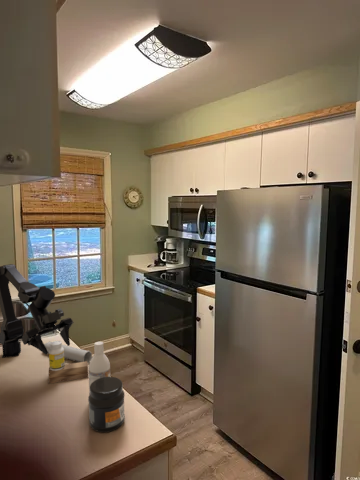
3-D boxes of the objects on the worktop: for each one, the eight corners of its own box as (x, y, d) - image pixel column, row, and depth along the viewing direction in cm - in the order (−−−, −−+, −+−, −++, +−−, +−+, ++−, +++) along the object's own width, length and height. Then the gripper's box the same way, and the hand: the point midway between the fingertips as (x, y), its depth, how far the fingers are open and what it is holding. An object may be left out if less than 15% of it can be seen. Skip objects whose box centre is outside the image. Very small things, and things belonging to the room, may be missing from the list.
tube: (38, 345, 145) (81, 357, 134) (48, 337, 149) (90, 348, 138) (42, 355, 147) (85, 367, 136) (51, 347, 151) (93, 358, 140)
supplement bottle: (48, 366, 126) (47, 341, 125) (62, 363, 128) (61, 338, 127) (51, 372, 121) (50, 347, 120) (66, 368, 124) (65, 343, 123)
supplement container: (131, 425, 98) (130, 386, 97) (97, 439, 92) (95, 398, 91) (116, 407, 107) (115, 372, 106) (84, 419, 101) (82, 382, 100)
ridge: (48, 383, 121) (48, 372, 121) (49, 375, 127) (49, 365, 127) (88, 377, 126) (88, 367, 125) (87, 369, 131) (87, 360, 131)
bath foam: (109, 406, 107) (107, 347, 105) (87, 407, 107) (85, 347, 105) (112, 394, 114) (111, 338, 112) (92, 395, 114) (90, 339, 112)
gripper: (24, 309, 117) (43, 347, 112) (69, 297, 132) (88, 330, 127) (14, 326, 123) (31, 363, 117) (59, 313, 138) (76, 345, 132)
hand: (58, 349), depth 123 cm, fingers open, 9 cm apart
